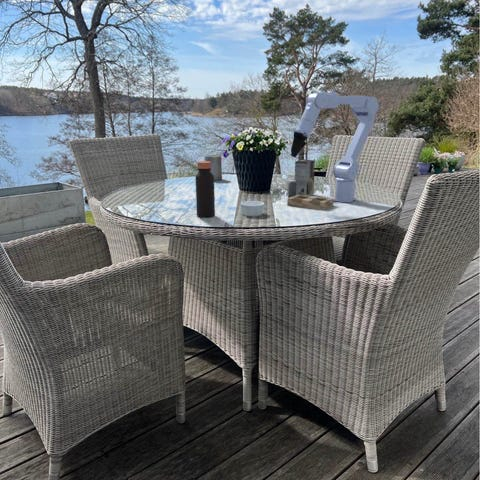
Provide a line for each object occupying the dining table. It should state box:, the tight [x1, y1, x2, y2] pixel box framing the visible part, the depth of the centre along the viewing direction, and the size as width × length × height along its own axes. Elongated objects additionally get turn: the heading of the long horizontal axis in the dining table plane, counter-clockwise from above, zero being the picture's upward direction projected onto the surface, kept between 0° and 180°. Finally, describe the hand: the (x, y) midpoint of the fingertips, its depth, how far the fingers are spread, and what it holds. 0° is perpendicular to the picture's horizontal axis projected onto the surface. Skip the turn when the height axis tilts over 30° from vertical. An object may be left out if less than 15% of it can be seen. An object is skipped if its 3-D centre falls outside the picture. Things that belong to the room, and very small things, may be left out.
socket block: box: [286, 195, 334, 211], centre depth 174 cm, size 10×16×3 cm, turn 56°
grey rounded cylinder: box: [287, 179, 297, 199], centre depth 185 cm, size 4×4×9 cm
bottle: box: [194, 160, 216, 219], centre depth 155 cm, size 7×7×20 cm
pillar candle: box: [204, 154, 223, 182], centre depth 243 cm, size 10×10×15 cm
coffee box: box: [294, 158, 316, 196], centre depth 194 cm, size 9×6×16 cm
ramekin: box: [240, 200, 265, 217], centre depth 160 cm, size 9×9×4 cm
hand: (293, 154), depth 165 cm, fingers open, 7 cm apart
